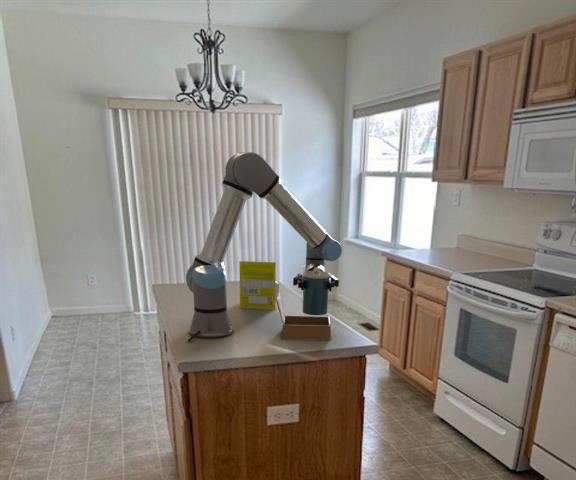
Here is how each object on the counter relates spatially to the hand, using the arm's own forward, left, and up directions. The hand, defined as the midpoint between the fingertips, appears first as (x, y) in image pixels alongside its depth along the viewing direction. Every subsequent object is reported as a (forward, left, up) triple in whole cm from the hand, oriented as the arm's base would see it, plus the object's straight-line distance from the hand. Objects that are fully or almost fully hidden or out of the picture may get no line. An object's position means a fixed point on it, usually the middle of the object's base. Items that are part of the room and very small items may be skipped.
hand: (316, 286), depth 184 cm
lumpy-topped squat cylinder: (+35, +57, -19) cm, 69 cm away
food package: (+18, +45, -19) cm, 52 cm away
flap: (-4, +12, -9) cm, 16 cm away
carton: (+2, +5, -19) cm, 20 cm away
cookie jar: (+3, +3, -10) cm, 11 cm away
